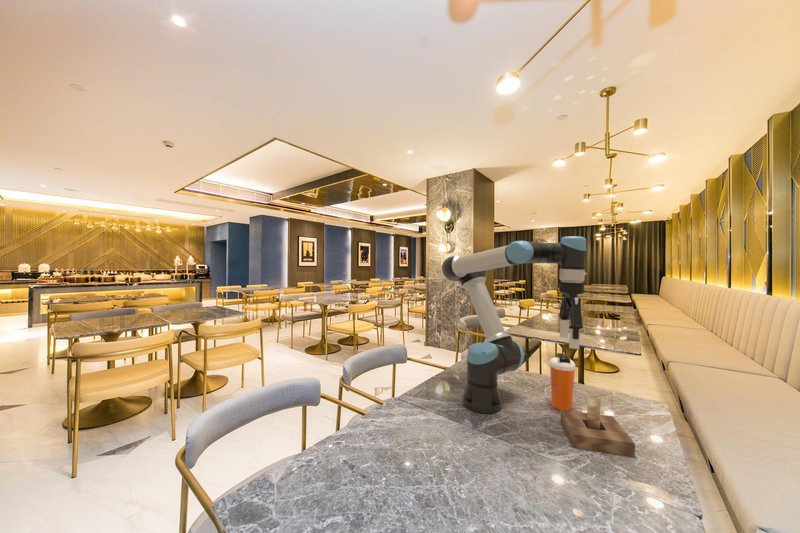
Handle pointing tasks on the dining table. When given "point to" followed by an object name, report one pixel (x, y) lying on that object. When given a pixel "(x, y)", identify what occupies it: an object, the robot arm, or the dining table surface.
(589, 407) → the peg
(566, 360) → the shaker bottle
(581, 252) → the robot arm
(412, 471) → the dining table surface
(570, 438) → the socket block
